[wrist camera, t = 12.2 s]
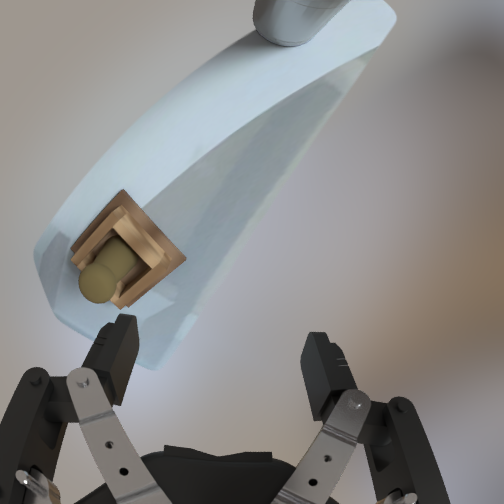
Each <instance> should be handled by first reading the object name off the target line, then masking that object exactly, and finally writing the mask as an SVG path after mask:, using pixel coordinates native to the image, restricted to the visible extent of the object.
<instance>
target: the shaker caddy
mask: <svg viewBox="0 0 504 504" xmlns="http://www.w3.org/2000/svg"><path fill="white" fill-rule="evenodd" d="M115 235H120V236H121V237H122V238H123V239H124V240H125V241H126V242H127V243H128V244H129V245H130V246H131V247H132V249H133V250H134V251H135V252H136V253H137V254H138V255H139V257H138V262H137V264H136V265H135V267H134V268H133V269H132V270H131V271H130V272H129V273H128V274H127V275H126V276H124V277H123V278H122V279H121V280H120V281H119V282H118V283H117V287H116V291H115V294H114V295H113V297H112V298H111V299H110V301H111V302H113V303H114V304H115V305H116V306H117V307H118V308H119V309H120V310H121V309H122V308H123V307H124V306H125V305H126V306H127V307H128V308H129V307H130V306H131V305H132V304H133V303H135V302H136V301H137V300H138V299H139V298H140V297H142V296H143V295H144V294H145V293H146V292H148V291H149V290H150V289H151V288H152V287H154V286H155V285H156V284H157V283H159V282H160V281H161V280H162V279H163V278H165V277H166V276H167V275H168V274H169V273H171V272H172V271H173V270H174V269H176V268H177V267H178V266H179V265H181V264H182V263H183V262H184V261H186V257H185V256H184V255H183V254H182V253H181V252H180V251H179V249H178V248H177V247H176V246H175V245H174V244H173V243H172V242H171V241H170V240H169V239H168V238H167V237H166V236H165V234H164V233H163V232H162V231H161V230H160V229H159V228H158V227H157V226H156V225H155V224H154V223H153V221H152V220H151V219H150V218H149V217H148V216H147V215H146V214H145V213H144V211H143V210H142V209H141V208H140V207H139V206H138V205H137V204H136V203H135V201H134V200H133V199H132V198H131V197H130V196H129V195H128V193H127V192H126V191H125V190H124V189H123V190H121V191H120V192H119V194H118V195H117V196H116V197H115V198H114V199H113V200H112V201H111V202H110V203H109V204H108V205H107V206H106V208H105V209H104V210H103V211H102V212H101V213H100V214H99V215H98V216H97V218H96V219H95V220H94V221H93V222H92V223H91V224H90V226H89V227H88V228H87V229H86V230H85V231H84V233H83V234H82V235H81V236H80V238H79V239H78V240H77V241H76V242H75V244H74V245H73V246H72V247H71V250H72V251H73V252H74V253H75V255H74V256H73V257H72V258H71V261H72V262H73V263H74V264H75V265H76V266H77V267H78V268H79V269H80V270H81V271H82V270H83V269H84V268H85V267H86V266H88V265H89V264H92V263H93V262H94V261H95V259H96V257H97V255H98V254H99V252H100V250H101V249H102V247H103V245H104V244H105V242H106V241H107V240H108V238H110V237H112V236H115Z"/></svg>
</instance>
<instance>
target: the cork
mask: <svg viewBox="0 0 504 504" xmlns="http://www.w3.org/2000/svg"><path fill="white" fill-rule="evenodd" d="M138 257H139V255H138V254H137V253H136V252H135V251H134V250H133V249H132V247H131V246H130V245H129V244H128V243H127V242H126V241H125V240H124V239H123V238H122V237H121V236H120V235H115V236H112V237H110V238H108V240H107V241H106V242H105V244H104V245H103V247H102V249H101V250H100V252H99V254H98V255H97V257H96V259H95V261H94V262H93V263H92V264H89V265H88V266H86V267H85V268H84V269H83V270H82V272H81V273H80V276H79V280H78V281H79V288H80V291H81V293H82V294H83V296H84V297H85V298H86V299H87V300H89V301H91V302H93V303H97V304H98V303H105V302H107V301H109V300H110V299H111V298H112V297H113V295H114V294H115V291H116V287H117V283H118V282H119V281H120V280H121V279H122V278H123V277H124V276H126V275H127V274H128V273H129V272H130V271H131V270H132V269H133V268H134V267H135V265H136V264H137V262H138Z"/></svg>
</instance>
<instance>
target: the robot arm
mask: <svg viewBox="0 0 504 504" xmlns="http://www.w3.org/2000/svg"><path fill="white" fill-rule="evenodd" d="M350 1H351V0H256V1H255V6H254V11H253V22H254V25H255V27H256V29H257V31H258V32H259V33H260V34H261V35H262V36H263V37H264V38H265V39H267V40H269V41H270V42H272V43H275V44H278V45H282V46H298V45H302V44H305V43H307V42H308V41H310V40H311V39H312V38H313V37H314V36H315V35H316V34H317V33H318V32H319V31H320V30H321V29H322V28H323V27H324V26H325V25H326V24H327V23H328V22H329V21H330V20H331V19H332V18H333V17H334V16H335V15H336V14H337V13H338V12H339V11H340V10H341V9H342V8H343V7H344V6H345V5H346V4H347V3H349V2H350ZM138 351H139V334H138V327H137V319H136V316H134V315H127V314H121V313H120V314H119V315H118V317H117V319H116V321H115V323H110V322H109V323H107V324H106V325H105V326H104V327H102V328H101V330H100V331H99V333H98V335H97V338H96V339H95V341H94V344H93V345H92V347H91V349H90V351H89V352H88V355H87V356H86V359H85V361H84V362H83V365H82V366H81V368H77V369H74V370H73V371H71V372H70V373H69V375H68V376H64V377H50V376H49V374H48V372H47V371H46V370H45V369H43V368H40V367H34V368H31V369H29V370H27V371H26V372H25V373H24V374H23V376H22V378H21V380H20V382H19V384H18V386H17V388H16V390H15V392H14V394H13V397H12V399H11V401H10V403H9V405H8V407H7V410H6V412H5V414H4V417H3V419H2V421H1V424H0V504H61V503H60V492H59V490H58V488H57V486H56V485H55V484H54V483H53V482H52V481H53V477H54V473H55V469H56V464H57V460H58V457H59V452H60V449H61V445H62V441H63V438H64V435H65V431H66V428H67V425H68V422H70V423H71V422H72V423H73V422H75V423H79V425H80V428H81V430H82V433H83V435H84V438H85V440H86V442H87V445H88V447H89V449H90V451H91V453H92V456H93V457H94V460H95V462H96V464H97V466H98V468H99V470H100V472H101V474H102V476H103V478H104V480H105V483H104V484H102V485H101V486H100V487H98V488H97V489H95V490H94V491H93V492H91V493H89V494H88V495H86V496H85V497H83V498H82V499H80V500H79V501H77V502H76V503H74V504H339V503H338V502H337V501H335V500H334V499H333V498H331V497H330V495H331V493H332V491H333V490H334V488H335V486H336V484H337V483H338V481H339V479H340V477H341V475H342V473H343V472H344V470H345V468H346V466H347V464H348V462H349V460H350V458H351V456H352V454H353V452H354V450H355V448H356V445H357V443H361V444H364V448H365V452H366V456H367V460H368V464H369V468H370V472H371V476H372V480H373V485H374V490H375V494H376V499H377V503H376V504H450V500H449V497H448V494H447V491H446V488H445V485H444V482H443V479H442V476H441V473H440V470H439V468H438V465H437V462H436V460H435V457H434V454H433V451H432V449H431V446H430V443H429V441H428V438H427V436H426V433H425V431H424V428H423V426H422V424H421V421H420V419H419V416H418V414H417V412H416V409H415V407H414V405H413V404H412V402H411V401H409V400H408V399H406V398H404V397H394V398H392V399H391V400H390V401H389V403H382V402H375V401H371V400H370V398H369V396H368V395H367V394H366V393H364V392H363V391H361V390H358V388H357V386H356V383H355V381H354V378H353V376H352V373H351V371H350V368H349V366H348V363H347V361H346V360H345V356H344V354H343V352H342V350H341V349H340V347H339V346H337V344H336V343H330V341H329V339H328V336H327V334H326V333H325V332H310V333H309V334H308V337H307V340H306V343H305V346H304V349H303V352H302V355H301V361H300V363H301V370H302V374H303V378H304V382H305V386H306V390H307V394H308V398H309V402H310V406H311V411H312V415H313V420H314V421H322V422H323V427H322V428H321V430H320V432H319V433H318V435H317V436H316V438H315V440H314V441H313V443H312V444H311V446H310V447H309V449H308V450H307V452H306V453H305V455H304V456H303V458H302V459H301V460H300V462H299V463H298V465H297V466H296V468H295V467H294V466H292V465H290V464H289V463H287V462H284V461H282V460H278V459H274V458H272V452H243V453H237V454H232V455H226V456H214V455H210V454H207V453H203V452H201V451H197V450H194V449H191V448H183V447H176V446H169V445H164V451H159V452H153V453H150V454H147V455H144V456H142V457H139V456H138V454H137V452H136V450H135V449H134V447H133V445H132V444H131V442H130V440H129V438H128V436H127V435H126V433H125V431H124V429H123V427H122V425H121V424H120V422H119V420H118V418H117V416H116V414H115V412H114V411H113V409H112V407H113V404H114V405H118V406H121V404H122V401H123V397H124V394H125V391H126V387H127V385H128V381H129V378H130V375H131V372H132V369H133V366H134V363H135V360H136V357H137V355H138Z"/></svg>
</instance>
